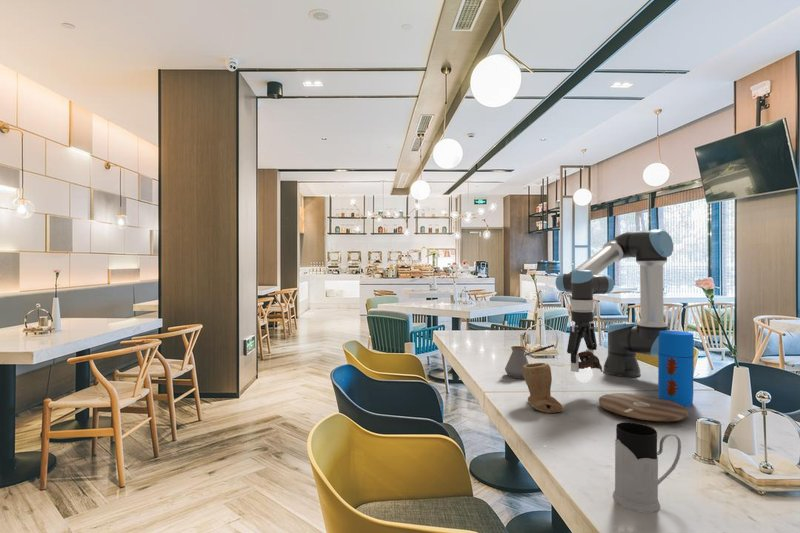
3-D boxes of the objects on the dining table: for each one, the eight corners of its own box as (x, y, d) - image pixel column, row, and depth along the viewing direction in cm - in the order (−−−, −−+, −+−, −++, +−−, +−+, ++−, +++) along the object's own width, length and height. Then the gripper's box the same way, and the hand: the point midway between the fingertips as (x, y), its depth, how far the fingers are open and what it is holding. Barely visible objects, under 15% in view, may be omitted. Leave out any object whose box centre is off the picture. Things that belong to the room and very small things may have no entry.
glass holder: (604, 490, 94) (604, 421, 94) (665, 487, 96) (665, 419, 95) (629, 513, 85) (629, 437, 85) (695, 510, 87) (696, 435, 87)
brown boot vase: (519, 399, 158) (520, 358, 158) (553, 401, 157) (553, 359, 157) (527, 413, 143) (528, 368, 143) (564, 415, 142) (565, 369, 142)
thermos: (654, 401, 157) (655, 332, 157) (661, 395, 165) (662, 329, 165) (690, 408, 150) (690, 336, 149) (695, 401, 157) (696, 332, 157)
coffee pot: (503, 378, 188) (503, 343, 188) (506, 372, 199) (506, 339, 199) (555, 382, 182) (555, 347, 182) (555, 376, 192) (555, 342, 192)
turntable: (619, 391, 164) (619, 388, 164) (699, 409, 144) (699, 406, 144) (584, 405, 147) (584, 402, 147) (670, 427, 127) (670, 424, 127)
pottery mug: (608, 375, 158) (600, 356, 156) (584, 385, 159) (575, 367, 157) (595, 359, 169) (587, 342, 168) (572, 369, 171) (564, 352, 169)
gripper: (587, 307, 174) (587, 362, 174) (556, 312, 159) (556, 372, 159) (606, 309, 168) (606, 365, 168) (575, 314, 153) (576, 376, 154)
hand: (582, 368), depth 164 cm, fingers closed on pottery mug, 11 cm apart
